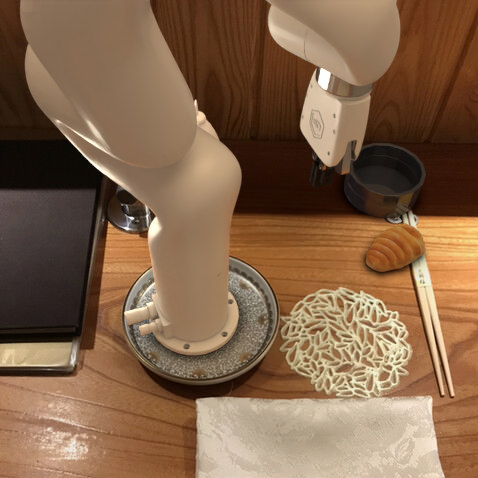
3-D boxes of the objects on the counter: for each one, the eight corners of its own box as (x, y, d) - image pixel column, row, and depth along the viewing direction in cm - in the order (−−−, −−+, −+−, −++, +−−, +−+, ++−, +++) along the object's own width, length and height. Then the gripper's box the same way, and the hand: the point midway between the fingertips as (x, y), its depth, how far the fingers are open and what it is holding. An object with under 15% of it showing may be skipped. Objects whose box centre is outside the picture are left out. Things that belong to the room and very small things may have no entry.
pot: (365, 226, 90) (373, 204, 86) (331, 175, 96) (336, 152, 92) (430, 206, 93) (440, 184, 89) (392, 158, 99) (400, 135, 95)
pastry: (385, 284, 84) (391, 269, 81) (353, 256, 87) (358, 240, 84) (426, 255, 88) (434, 238, 84) (394, 229, 90) (401, 212, 87)
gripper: (294, 46, 74) (278, 157, 89) (347, 113, 67) (320, 222, 82) (344, 37, 76) (320, 147, 91) (401, 102, 69) (364, 210, 84)
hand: (320, 182), depth 87 cm, fingers closed
